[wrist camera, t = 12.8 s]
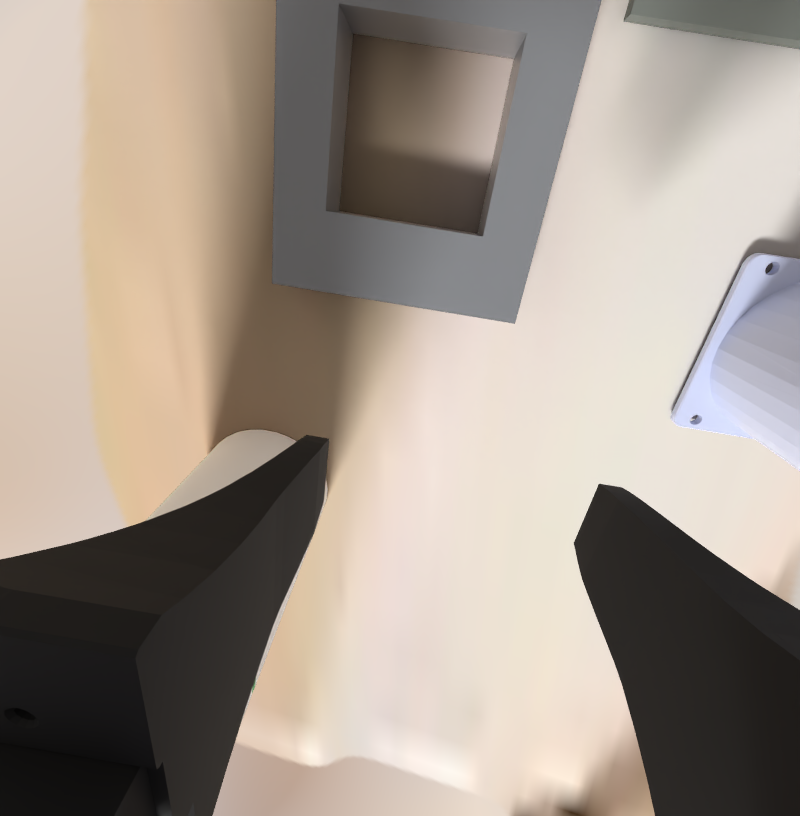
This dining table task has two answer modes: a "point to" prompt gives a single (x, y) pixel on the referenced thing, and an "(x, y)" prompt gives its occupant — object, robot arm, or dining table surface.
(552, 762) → the dining table surface
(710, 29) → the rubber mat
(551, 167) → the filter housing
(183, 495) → the cylindrical container
